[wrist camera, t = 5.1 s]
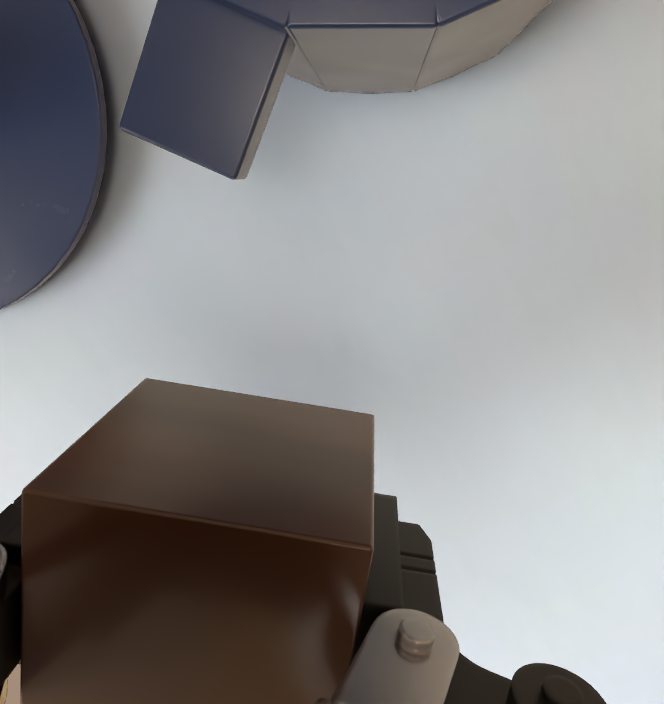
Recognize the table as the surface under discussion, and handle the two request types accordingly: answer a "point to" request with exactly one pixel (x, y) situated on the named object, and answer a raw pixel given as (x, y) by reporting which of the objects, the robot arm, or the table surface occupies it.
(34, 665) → the block
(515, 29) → the pot
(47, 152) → the lid
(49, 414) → the table surface
